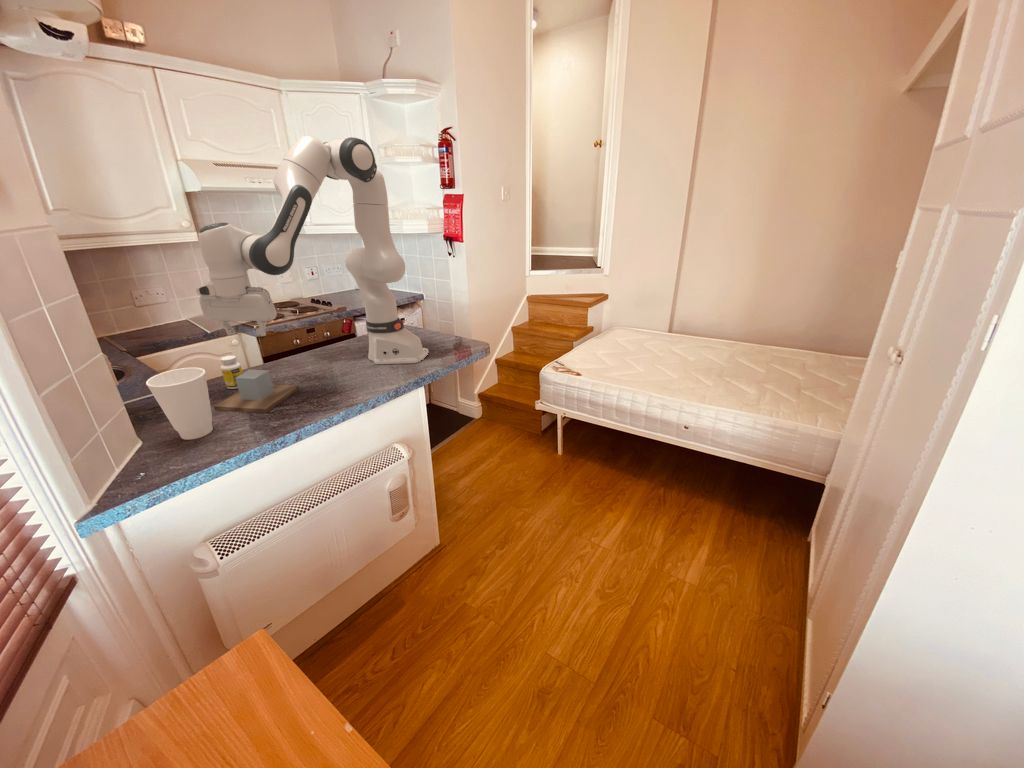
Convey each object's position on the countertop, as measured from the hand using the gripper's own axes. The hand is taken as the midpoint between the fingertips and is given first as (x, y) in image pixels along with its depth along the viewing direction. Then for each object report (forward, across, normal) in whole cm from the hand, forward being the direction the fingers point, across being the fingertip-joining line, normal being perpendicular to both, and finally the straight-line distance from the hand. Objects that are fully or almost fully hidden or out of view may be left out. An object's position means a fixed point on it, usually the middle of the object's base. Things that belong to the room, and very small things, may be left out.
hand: (246, 335), depth 121 cm
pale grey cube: (+18, 0, +2) cm, 18 cm away
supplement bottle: (+20, +14, -6) cm, 25 cm away
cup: (+19, +3, +22) cm, 30 cm away
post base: (+20, 0, +2) cm, 20 cm away
